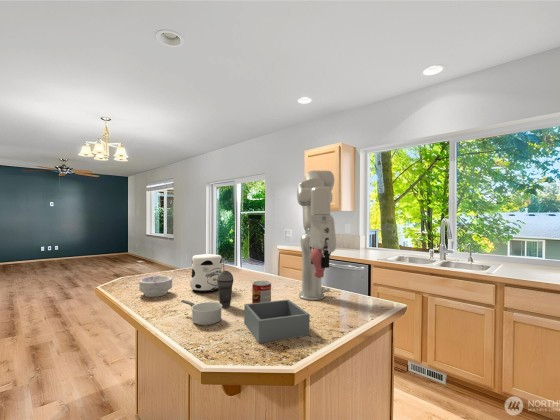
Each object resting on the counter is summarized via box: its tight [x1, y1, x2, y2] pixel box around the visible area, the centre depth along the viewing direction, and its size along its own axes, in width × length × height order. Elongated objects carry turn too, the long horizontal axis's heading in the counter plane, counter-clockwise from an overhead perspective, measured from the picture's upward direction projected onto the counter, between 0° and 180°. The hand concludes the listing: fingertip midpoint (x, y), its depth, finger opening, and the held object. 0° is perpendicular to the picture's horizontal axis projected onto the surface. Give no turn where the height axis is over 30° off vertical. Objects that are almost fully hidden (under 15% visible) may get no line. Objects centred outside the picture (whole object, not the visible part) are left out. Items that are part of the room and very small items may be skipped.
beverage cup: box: [217, 260, 235, 309], centre depth 126 cm, size 7×7×20 cm
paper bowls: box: [138, 275, 173, 298], centre depth 143 cm, size 15×15×8 cm
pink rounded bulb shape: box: [311, 248, 326, 279], centre depth 109 cm, size 7×7×12 cm
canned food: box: [251, 280, 272, 304], centre depth 120 cm, size 8×8×12 cm
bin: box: [243, 299, 311, 344], centre depth 102 cm, size 18×18×7 cm
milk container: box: [189, 253, 223, 293], centre depth 154 cm, size 17×17×18 cm
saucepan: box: [180, 299, 222, 326], centre depth 111 cm, size 12×20×6 cm, turn 58°
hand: (319, 265), depth 109 cm, fingers closed on pink rounded bulb shape, 7 cm apart
